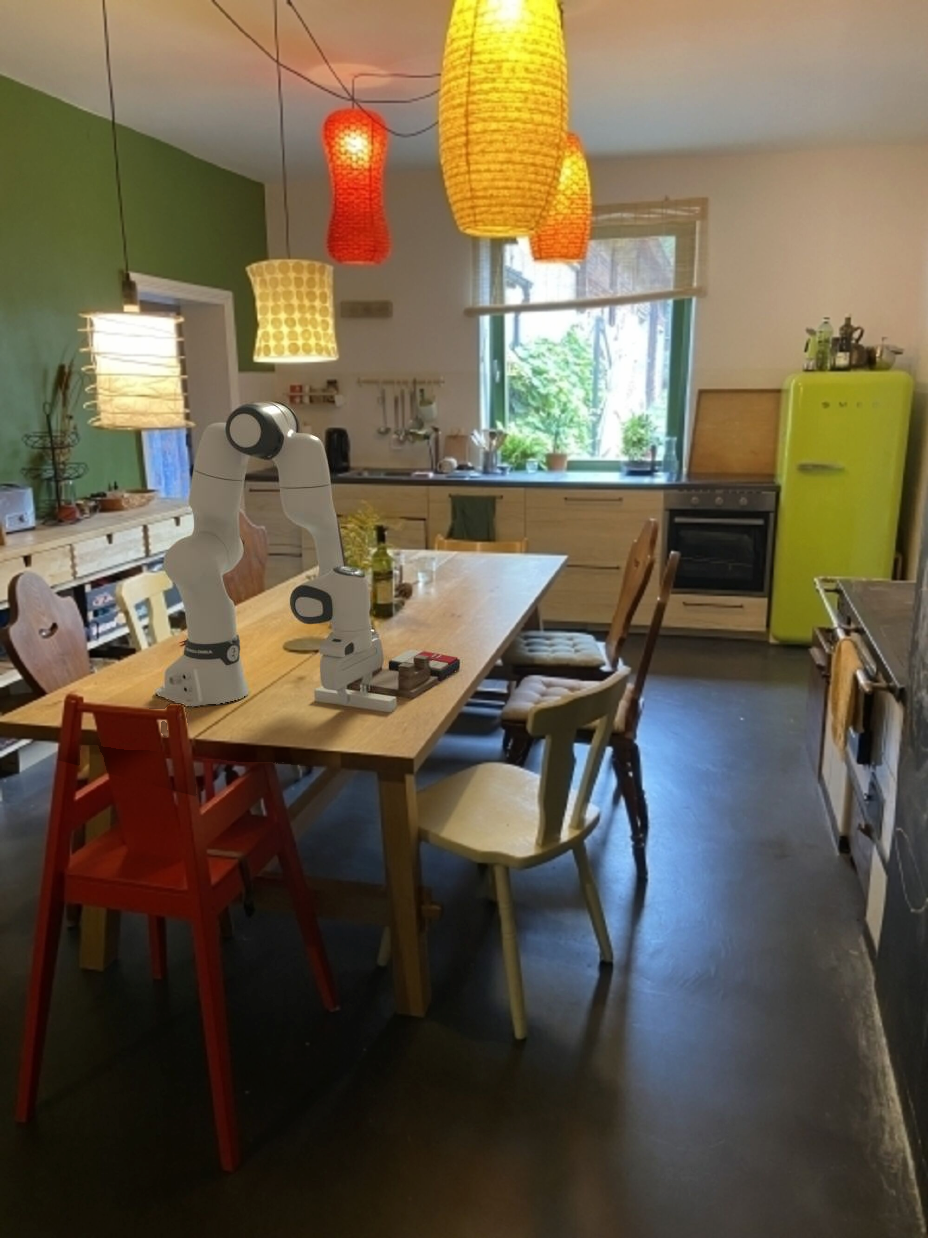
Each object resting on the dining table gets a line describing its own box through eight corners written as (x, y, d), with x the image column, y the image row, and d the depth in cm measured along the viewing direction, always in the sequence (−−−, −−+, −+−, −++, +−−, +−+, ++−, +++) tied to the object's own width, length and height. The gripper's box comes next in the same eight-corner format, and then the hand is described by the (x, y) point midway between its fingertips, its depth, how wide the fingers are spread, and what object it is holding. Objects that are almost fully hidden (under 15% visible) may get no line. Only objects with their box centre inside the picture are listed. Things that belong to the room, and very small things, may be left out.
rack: (342, 686, 214) (340, 658, 212) (369, 672, 224) (368, 645, 223) (412, 698, 205) (411, 669, 203) (438, 683, 215) (437, 655, 214)
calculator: (440, 668, 216) (387, 658, 222) (440, 685, 217) (387, 674, 223) (460, 656, 225) (409, 646, 231) (460, 672, 226) (409, 662, 233)
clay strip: (314, 702, 205) (314, 689, 204) (322, 697, 207) (321, 685, 207) (390, 713, 197) (389, 701, 196) (396, 709, 199) (396, 696, 198)
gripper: (366, 626, 208) (368, 681, 212) (313, 648, 191) (317, 709, 194) (388, 628, 205) (391, 685, 209) (337, 652, 188) (341, 713, 191)
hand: (355, 696), depth 201 cm, fingers open, 7 cm apart
